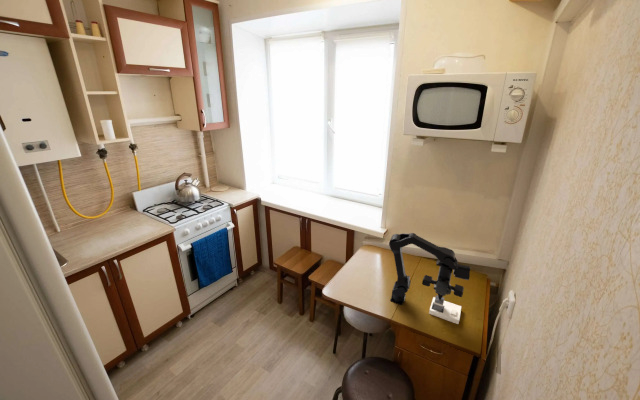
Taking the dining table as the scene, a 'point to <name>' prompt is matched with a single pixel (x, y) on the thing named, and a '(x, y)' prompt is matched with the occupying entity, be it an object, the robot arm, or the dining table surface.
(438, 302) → the plug
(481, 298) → the dining table surface
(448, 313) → the socket plate
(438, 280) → the robot arm
